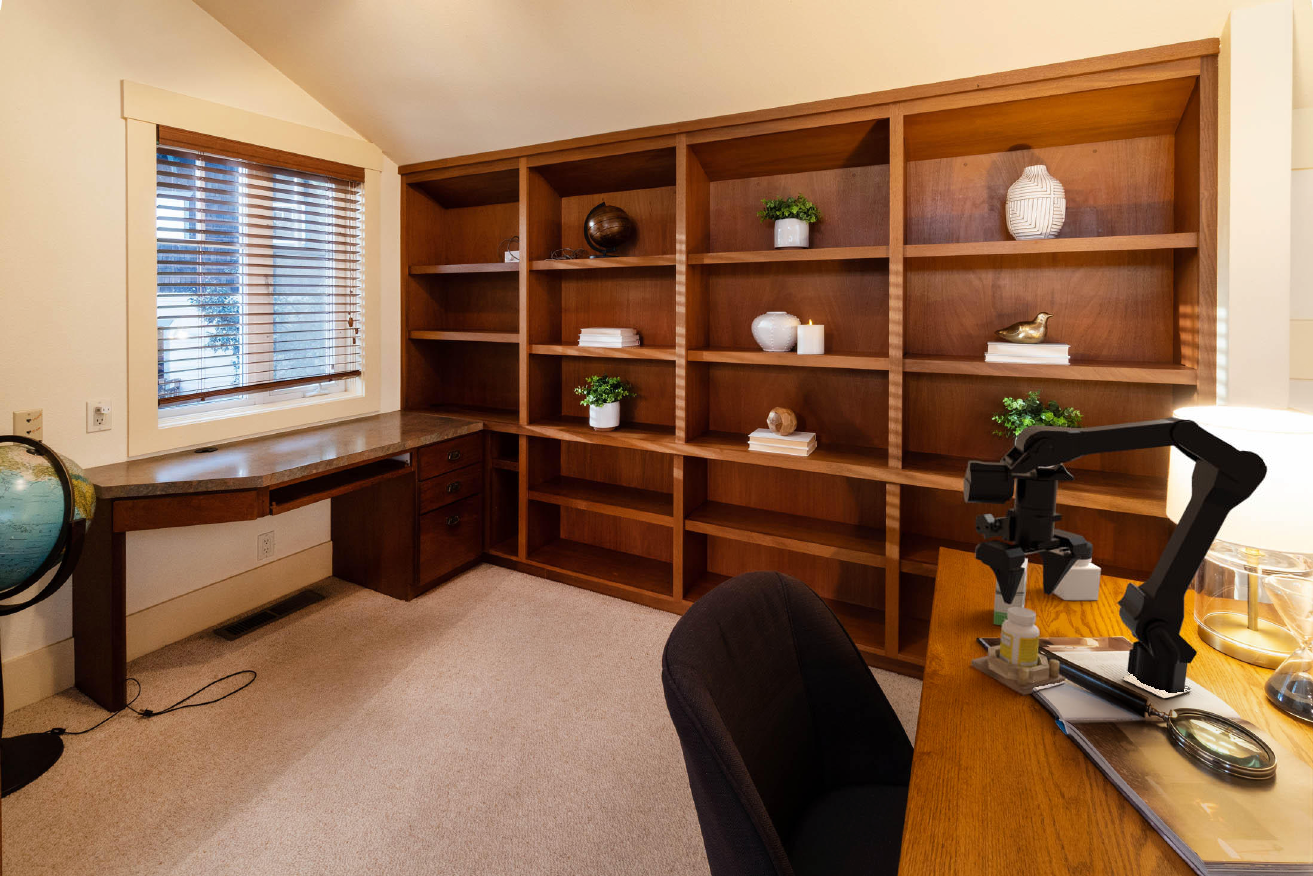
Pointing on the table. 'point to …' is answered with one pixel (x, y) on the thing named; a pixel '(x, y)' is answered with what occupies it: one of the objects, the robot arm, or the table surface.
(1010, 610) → the supplement bottle
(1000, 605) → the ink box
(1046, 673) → the beige octagonal holder
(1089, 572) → the medicine bottle
